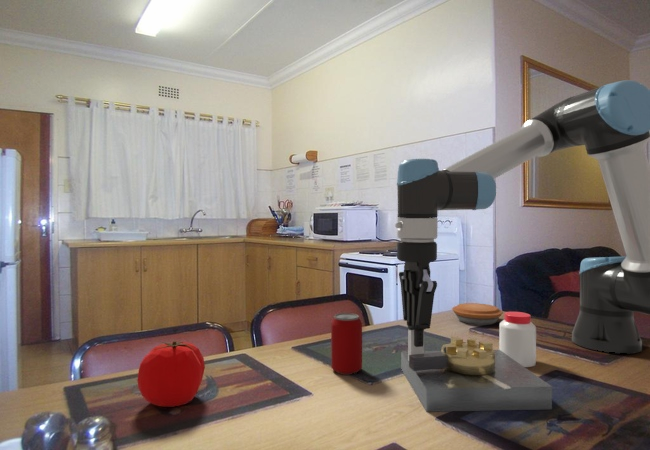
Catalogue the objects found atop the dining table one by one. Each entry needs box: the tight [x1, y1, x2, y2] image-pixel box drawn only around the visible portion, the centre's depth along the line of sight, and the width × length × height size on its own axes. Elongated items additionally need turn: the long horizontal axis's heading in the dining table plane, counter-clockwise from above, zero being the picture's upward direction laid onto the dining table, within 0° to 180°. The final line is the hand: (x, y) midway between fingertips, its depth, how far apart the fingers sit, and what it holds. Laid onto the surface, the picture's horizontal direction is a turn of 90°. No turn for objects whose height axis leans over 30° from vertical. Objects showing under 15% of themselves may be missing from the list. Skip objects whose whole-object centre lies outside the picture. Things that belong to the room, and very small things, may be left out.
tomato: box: [136, 340, 206, 408], centre depth 76 cm, size 12×12×11 cm
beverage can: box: [330, 312, 363, 375], centre depth 91 cm, size 7×7×12 cm
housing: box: [400, 349, 553, 413], centre depth 81 cm, size 22×21×4 cm
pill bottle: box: [498, 311, 537, 368], centre depth 96 cm, size 8×8×11 cm
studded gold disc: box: [409, 336, 495, 375], centre depth 81 cm, size 17×10×4 cm, turn 103°
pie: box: [451, 302, 504, 326], centre depth 135 cm, size 16×16×5 cm
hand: (415, 361), depth 81 cm, fingers closed
